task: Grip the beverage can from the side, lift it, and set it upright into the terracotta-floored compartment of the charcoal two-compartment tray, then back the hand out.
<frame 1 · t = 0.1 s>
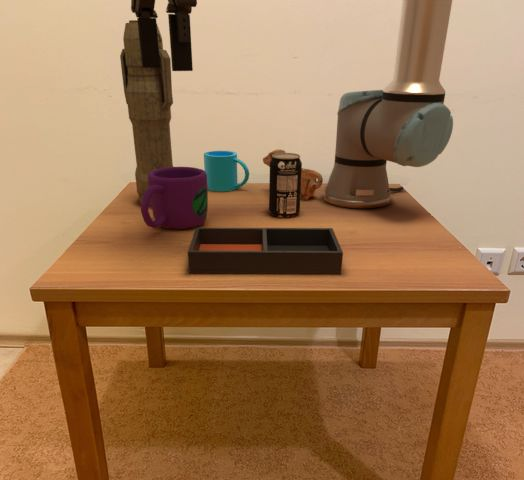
hand: (165, 69, 75), 28 cm above the table, tool pointing down, fingers open, 13 cm apart
tray: (264, 259, 86), on the table
beverage can: (284, 214, 110), on the table
stone statue: (158, 203, 117), on the table
figurine: (292, 195, 124), on the table
mug: (228, 189, 129), on the table
mug 2: (172, 228, 101), on the table
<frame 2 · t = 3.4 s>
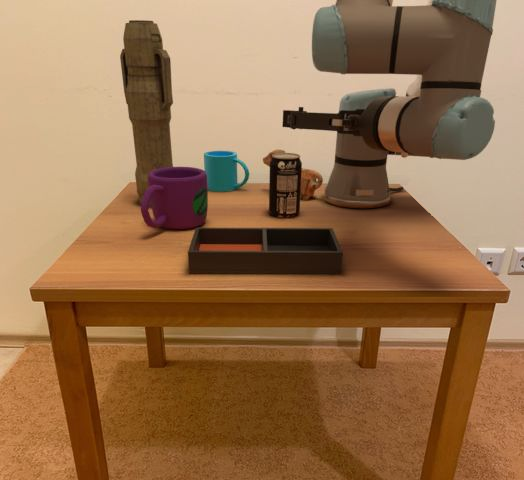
hand: (316, 119, 93), 20 cm above the table, tool horizontal, fingers open, 13 cm apart
nothing on the table moved.
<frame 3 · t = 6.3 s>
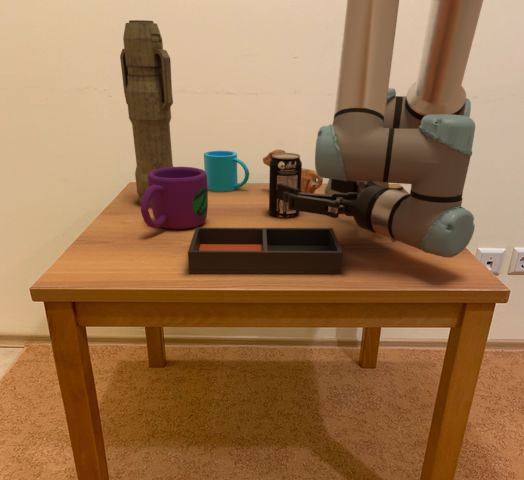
hand: (306, 186, 101), 7 cm above the table, tool horizontal, fingers open, 13 cm apart
nothing on the table moved.
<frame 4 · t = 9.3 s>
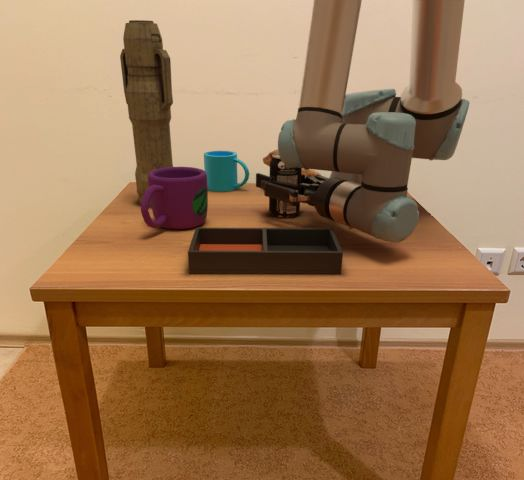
hand: (271, 177, 110), 7 cm above the table, tool horizontal, fingers closed on beverage can, 7 cm apart
beverage can: (284, 214, 110), on the table, touching gripper
everything else where it was.
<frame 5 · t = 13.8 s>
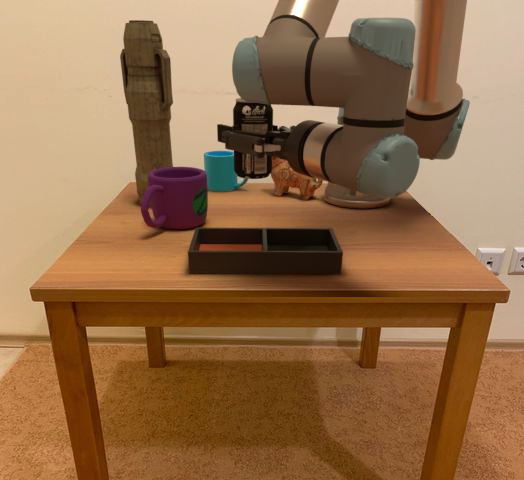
hand: (237, 131, 89), 18 cm above the table, tool horizontal, fingers closed on beverage can, 7 cm apart
beverage can: (253, 176, 89), point 11 cm above the table, touching gripper
everything else where it was.
when the fingers open (7 cm above the table, at t = 18.5 s): beverage can stays where it is, resting on tray.
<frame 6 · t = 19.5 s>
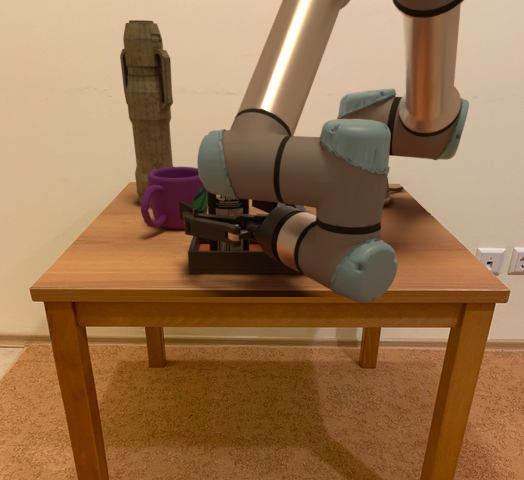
hand: (218, 203, 84), 9 cm above the table, tool horizontal, fingers open, 13 cm apart
beverage can: (229, 256, 86), point 1 cm above the table, touching tray
everything else where it was.
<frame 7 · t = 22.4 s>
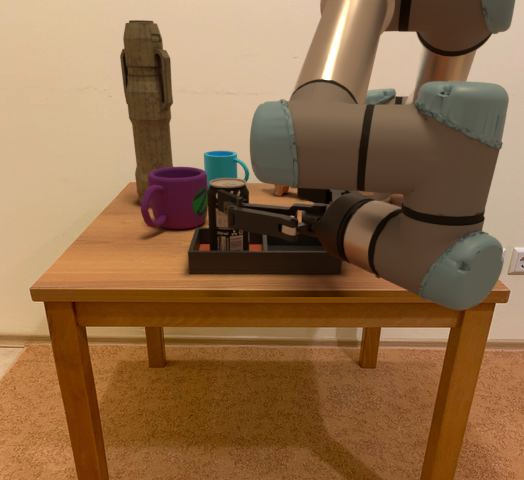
hand: (261, 193, 73), 13 cm above the table, tool horizontal, fingers open, 13 cm apart
nothing on the table moved.
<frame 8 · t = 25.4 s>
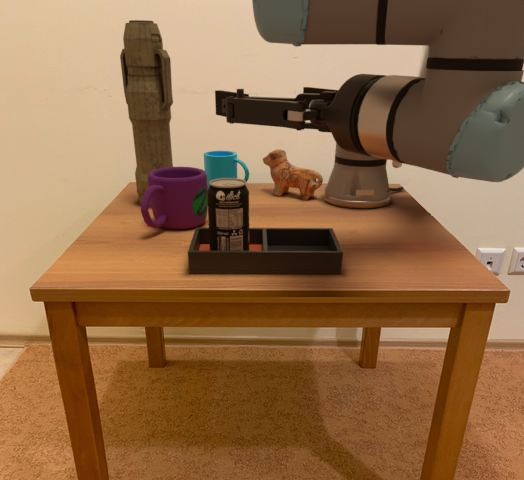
hand: (263, 100, 66), 25 cm above the table, tool horizontal, fingers open, 13 cm apart
nothing on the table moved.
at the end: beverage can 0.0 cm from the target spot in the tray, point 0.6 cm above the tray's base; beverage can tilted 0° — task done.
